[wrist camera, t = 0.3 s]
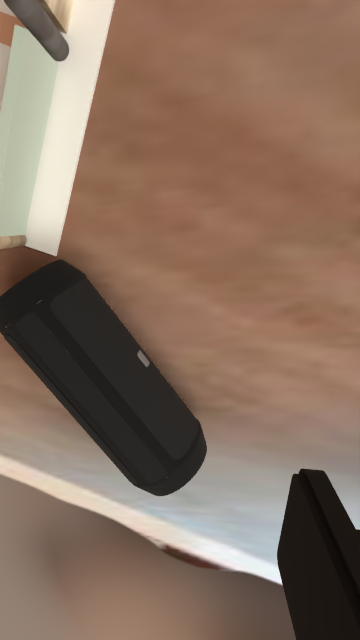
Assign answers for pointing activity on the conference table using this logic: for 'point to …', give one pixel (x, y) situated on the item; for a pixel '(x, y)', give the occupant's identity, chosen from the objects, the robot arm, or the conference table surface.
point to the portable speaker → (102, 377)
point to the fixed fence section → (45, 22)
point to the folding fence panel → (22, 131)
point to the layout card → (61, 115)
